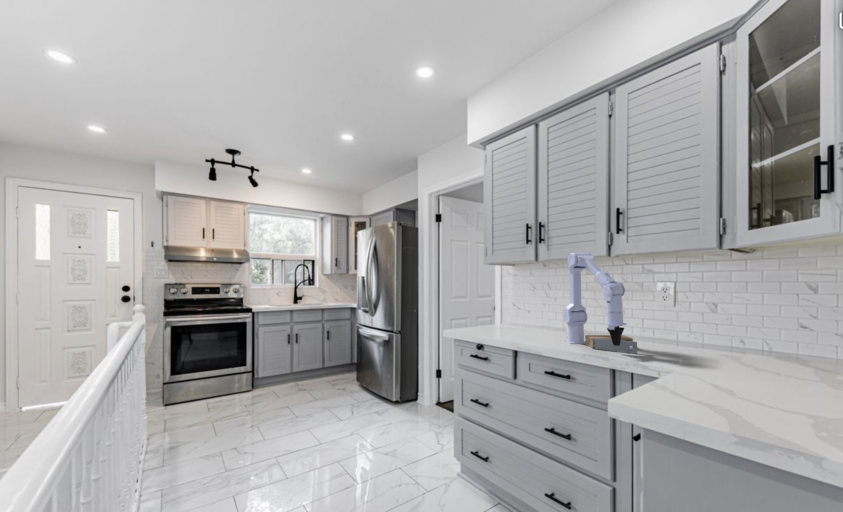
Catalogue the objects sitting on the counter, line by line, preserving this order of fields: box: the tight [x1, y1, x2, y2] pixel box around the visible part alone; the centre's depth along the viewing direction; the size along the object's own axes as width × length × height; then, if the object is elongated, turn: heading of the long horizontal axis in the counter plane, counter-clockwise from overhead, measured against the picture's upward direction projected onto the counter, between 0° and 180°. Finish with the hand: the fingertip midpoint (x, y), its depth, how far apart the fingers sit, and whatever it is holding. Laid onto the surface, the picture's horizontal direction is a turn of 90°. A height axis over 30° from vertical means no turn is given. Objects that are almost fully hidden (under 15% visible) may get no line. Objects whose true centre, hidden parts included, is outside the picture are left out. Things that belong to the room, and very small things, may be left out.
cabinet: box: [584, 334, 634, 350], centre depth 165 cm, size 9×17×4 cm, turn 85°
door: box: [593, 338, 638, 354], centre depth 155 cm, size 2×17×4 cm, turn 50°
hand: (616, 345), depth 150 cm, fingers closed
